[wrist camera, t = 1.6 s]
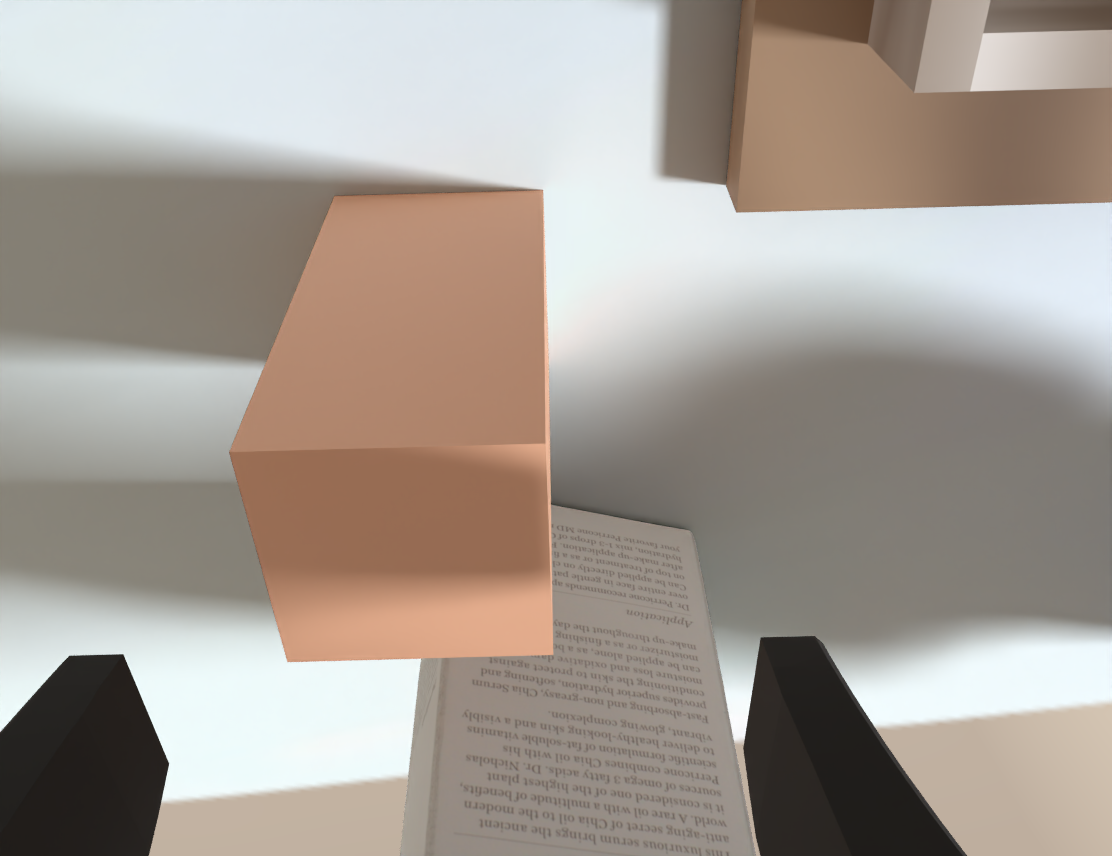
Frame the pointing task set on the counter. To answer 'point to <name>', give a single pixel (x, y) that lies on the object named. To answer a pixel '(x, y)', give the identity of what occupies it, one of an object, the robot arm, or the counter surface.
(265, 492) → the peg
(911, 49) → the socket board
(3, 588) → the counter surface
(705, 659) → the skincare box
